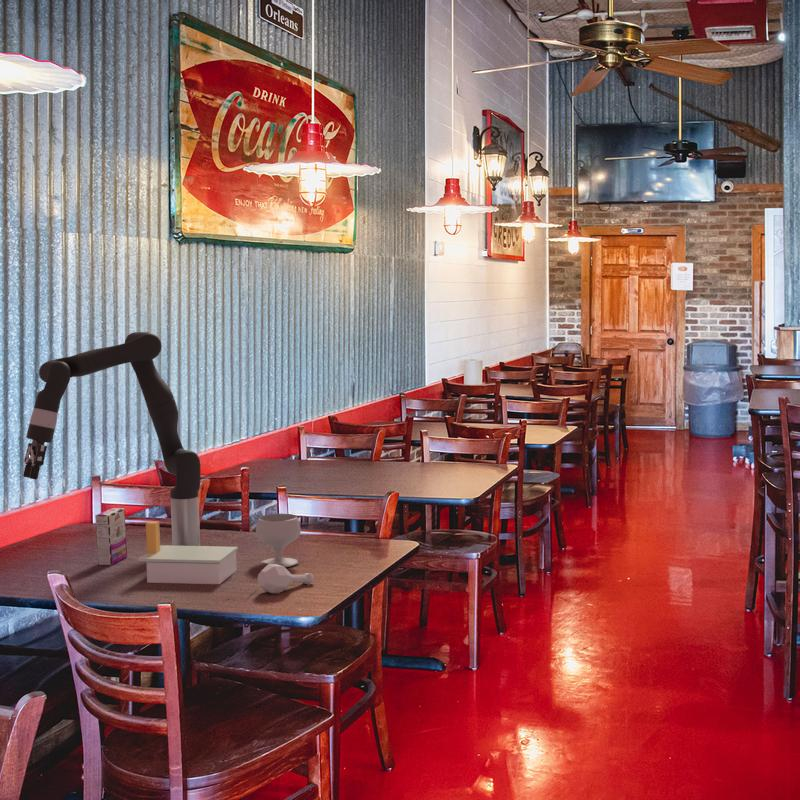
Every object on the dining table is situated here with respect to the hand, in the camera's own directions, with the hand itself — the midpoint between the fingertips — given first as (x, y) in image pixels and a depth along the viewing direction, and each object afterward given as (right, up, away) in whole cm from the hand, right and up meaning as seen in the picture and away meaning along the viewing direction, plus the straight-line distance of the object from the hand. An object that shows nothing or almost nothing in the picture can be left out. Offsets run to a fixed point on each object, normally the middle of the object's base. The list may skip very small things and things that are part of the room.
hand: (29, 478), depth 310 cm
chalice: (+73, -28, +15) cm, 80 cm away
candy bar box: (+19, -29, +22) cm, 41 cm away
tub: (+49, -30, -2) cm, 58 cm away
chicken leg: (+79, -31, -14) cm, 86 cm away
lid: (+48, -23, -2) cm, 53 cm away
